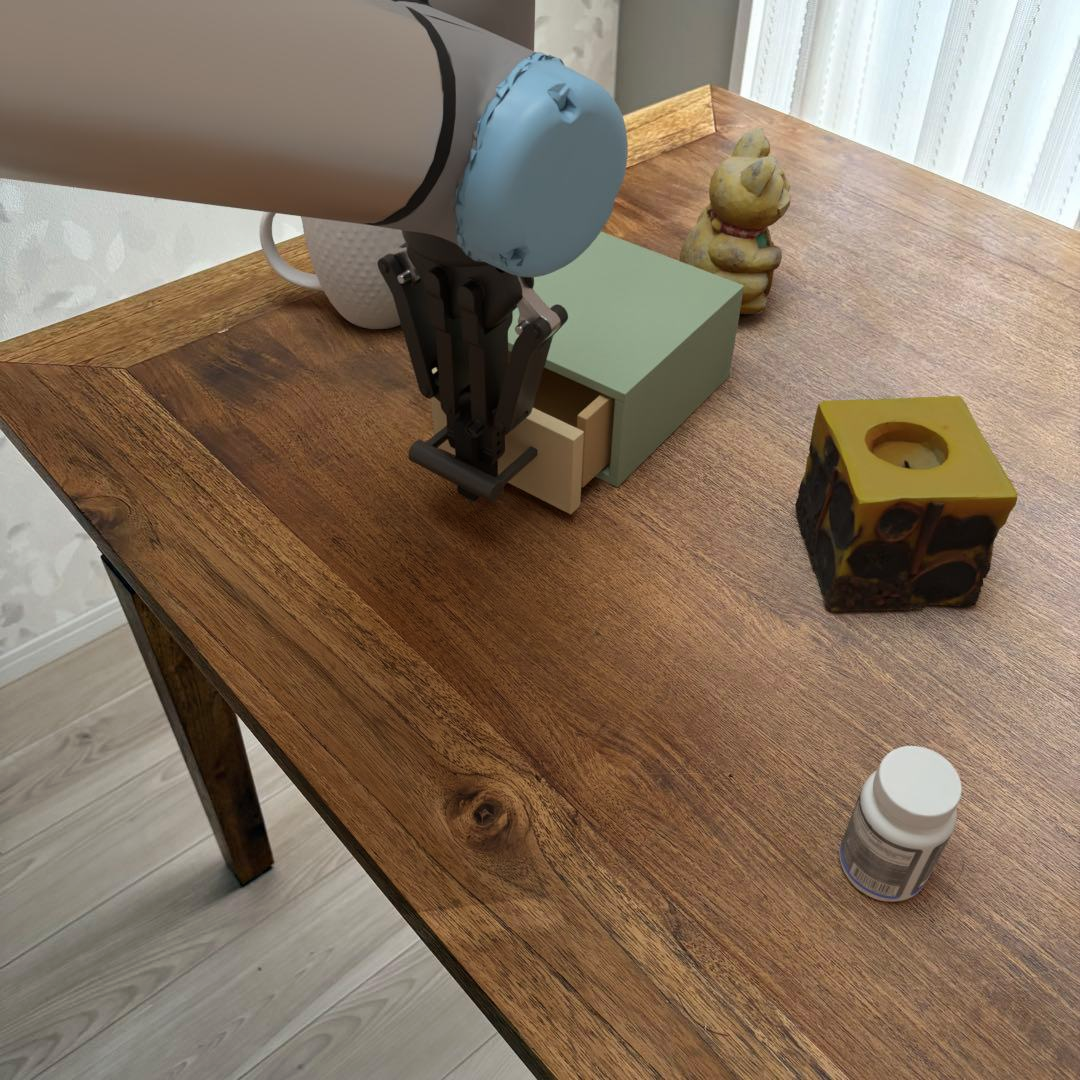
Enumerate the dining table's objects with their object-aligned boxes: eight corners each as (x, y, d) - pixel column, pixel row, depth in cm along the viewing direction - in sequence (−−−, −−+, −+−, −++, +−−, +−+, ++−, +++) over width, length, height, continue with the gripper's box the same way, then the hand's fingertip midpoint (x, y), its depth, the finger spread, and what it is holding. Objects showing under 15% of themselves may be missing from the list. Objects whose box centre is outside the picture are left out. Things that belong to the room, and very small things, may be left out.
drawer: (522, 561, 74) (522, 487, 69) (383, 486, 79) (374, 411, 74) (685, 403, 86) (694, 330, 81) (555, 346, 91) (557, 274, 86)
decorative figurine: (781, 328, 95) (814, 163, 84) (687, 336, 94) (708, 170, 83) (750, 268, 102) (777, 107, 91) (662, 274, 101) (679, 113, 90)
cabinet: (617, 488, 81) (625, 394, 75) (471, 416, 86) (467, 324, 80) (729, 376, 90) (744, 285, 84) (591, 318, 96) (595, 229, 90)
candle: (977, 610, 73) (1026, 499, 66) (826, 617, 72) (858, 506, 65) (928, 503, 80) (968, 392, 73) (790, 508, 79) (816, 398, 72)
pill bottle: (898, 815, 62) (938, 728, 56) (943, 891, 59) (991, 807, 53) (821, 836, 61) (854, 751, 55) (863, 914, 58) (902, 832, 52)
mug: (260, 342, 93) (230, 198, 84) (286, 270, 101) (261, 132, 91) (437, 347, 93) (427, 204, 83) (450, 275, 100) (442, 136, 91)
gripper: (602, 180, 60) (585, 496, 77) (419, 115, 66) (440, 424, 83) (519, 238, 56) (520, 558, 73) (331, 163, 61) (372, 478, 78)
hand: (478, 487), depth 78 cm, fingers closed
